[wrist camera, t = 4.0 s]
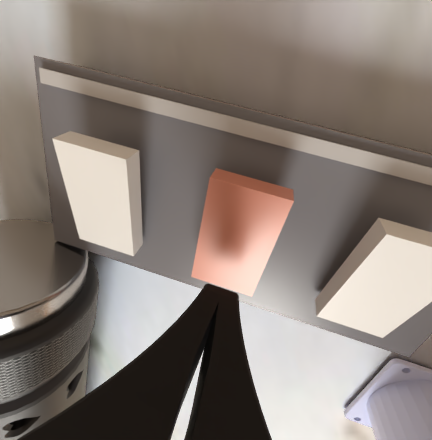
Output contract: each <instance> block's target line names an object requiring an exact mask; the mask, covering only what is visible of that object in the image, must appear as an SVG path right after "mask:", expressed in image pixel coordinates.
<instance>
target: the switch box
mask: <svg viewBox="0 0 432 440" xmlns="http://www.w3.org/2000/svg"><path fill="white" fill-rule="evenodd" d="M34 62H35V71H36V79H37V88H38V97H39V106H40V115H41V124H42V133H43V142H44V150H45V159H46V168H47V177H48V186H49V195H50V204H51V212H52V221H53V230H54V239H55V240H56V241H59V242H62V243H65V244H68V245H71V246H74V247H77V248H80V249H83V250H87V251H90V252H93V253H96V254H99V255H102V256H105V257H108V258H111V259H114V260H117V261H120V262H123V263H126V264H129V265H132V266H135V267H138V268H141V269H144V270H147V271H150V272H153V273H156V274H159V275H162V276H165V277H168V278H171V279H174V280H177V281H180V282H183V283H186V284H189V285H192V286H195V287H198V288H201V289H203V287H204V285H205V284H208V282H205V281H202V280H199V279H196V278H193V277H191V275H192V269H193V264H194V259H195V254H196V248H197V243H198V238H199V232H200V227H201V222H202V216H203V211H204V206H205V200H206V195H207V190H208V184H209V179H210V176H211V175H212V173H213V172H214V171H215V169H216V168H218V169H221V170H225V171H229V172H232V173H236V174H239V175H243V176H246V177H250V178H254V179H257V180H261V181H264V182H268V183H271V184H275V185H279V186H282V187H286V188H289V189H293V194H294V202H293V205H292V207H291V209H290V211H289V214H288V216H287V218H286V220H285V223H284V225H283V227H282V230H281V232H280V234H279V236H278V239H277V241H276V243H275V246H274V248H273V250H272V252H271V255H270V257H269V259H268V261H267V264H266V266H265V268H264V271H263V273H262V275H261V277H260V280H259V282H258V284H257V287H256V289H255V291H254V293H253V296H252V297H251V296H248V295H245V294H242V293H239V292H236V291H233V290H230V289H227V288H224V287H221V286H218V285H215V284H212V283H209V284H212V285H215V286H218V287H221V288H224V289H227V290H230V291H233V292H236V293H237V294H238V295H239V301H240V302H243V303H246V304H249V305H252V306H255V307H258V308H261V309H264V310H267V311H270V312H273V313H276V314H279V315H282V316H285V317H288V318H291V319H294V320H297V321H300V322H303V323H306V324H309V325H312V326H316V327H319V328H322V329H325V330H328V331H331V332H334V333H337V334H340V335H343V336H346V337H349V338H352V339H355V340H358V341H361V342H364V343H367V344H370V345H373V346H376V347H379V348H382V349H385V350H388V351H391V352H394V353H397V354H400V355H403V356H406V357H410V356H411V355H412V354H413V353H414V351H415V350H416V349H417V348H418V347H419V346H420V345H421V344H422V343H423V342H424V341H425V340H426V339H427V338H428V337H429V336H430V335H431V334H432V302H431V303H429V304H428V305H427V306H425V307H424V308H423V309H421V310H420V311H419V312H417V313H416V314H415V315H413V316H412V317H410V318H409V319H408V320H406V321H405V322H404V323H402V324H401V325H400V326H398V327H397V328H396V329H394V330H393V331H391V332H390V333H389V334H387V335H386V336H385V337H383V338H381V337H378V336H375V335H372V334H369V333H366V332H363V331H360V330H357V329H354V328H351V327H348V326H345V325H342V324H338V323H335V322H332V321H329V320H326V319H323V318H320V317H317V316H316V304H315V299H316V297H317V296H318V295H319V294H320V292H321V291H322V290H323V288H324V287H325V286H326V285H327V283H328V282H329V281H330V279H331V278H332V277H333V276H334V274H335V273H336V272H337V270H338V269H339V268H340V267H341V265H342V264H343V263H344V261H345V260H346V259H347V258H348V256H349V255H350V254H351V252H352V251H353V250H354V249H355V247H356V246H357V245H358V243H359V242H360V241H361V240H362V238H363V237H364V236H365V234H366V233H367V232H368V231H369V229H370V228H371V227H372V226H373V224H374V223H375V222H376V220H377V219H378V218H382V219H385V220H389V221H393V222H396V223H400V224H403V225H407V226H410V227H414V228H417V229H421V230H425V231H428V232H432V154H428V153H424V152H420V151H416V150H412V149H408V148H404V147H400V146H396V145H392V144H388V143H385V142H381V141H377V140H373V139H369V138H365V137H361V136H357V135H353V134H349V133H345V132H341V131H337V130H333V129H329V128H325V127H321V126H317V125H313V124H309V123H305V122H301V121H297V120H293V119H289V118H285V117H281V116H277V115H273V114H269V113H265V112H261V111H257V110H253V109H249V108H245V107H241V106H237V105H233V104H229V103H225V102H221V101H217V100H213V99H209V98H205V97H201V96H197V95H193V94H189V93H185V92H181V91H177V90H173V89H169V88H165V87H161V86H157V85H153V84H149V83H145V82H141V81H137V80H133V79H129V78H125V77H121V76H117V75H113V74H109V73H105V72H101V71H98V70H94V69H90V68H86V67H82V66H77V65H73V64H68V63H64V62H59V61H55V60H51V59H46V58H42V57H37V56H34ZM69 131H72V132H76V133H79V134H83V135H86V136H90V137H94V138H97V139H101V140H104V141H108V142H111V143H115V144H118V145H122V146H126V147H129V148H133V149H136V150H139V158H140V184H141V209H142V235H143V244H142V246H141V247H140V248H139V250H138V251H137V253H136V254H135V255H134V256H131V255H128V254H125V253H122V252H119V251H116V250H113V249H110V248H107V247H103V246H100V245H97V244H94V243H91V242H88V241H85V240H82V239H80V238H79V235H78V231H77V227H76V224H75V220H74V216H73V213H72V209H71V205H70V202H69V198H68V194H67V191H66V187H65V183H64V180H63V176H62V172H61V169H60V165H59V162H58V158H57V154H56V151H55V147H54V143H53V140H52V138H54V137H57V136H59V135H62V134H64V133H67V132H69Z"/></svg>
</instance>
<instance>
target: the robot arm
mask: <svg viewBox="0 0 432 440" xmlns="http://www.w3.org/2000/svg"><path fill="white" fill-rule="evenodd" d="M203 350H204V352H203ZM202 352H203V357H202V362H201V367H200V372H199V377H198V382H197V387H196V392H195V397H194V402H193V407H192V412H191V416H190V420H189V425H188V428H187V432H186V436H185V439H184V440H272V439H271V436H270V433H269V431H268V428H267V425H266V422H265V419H264V416H263V413H262V410H261V407H260V403H259V400H258V397H257V393H256V390H255V387H254V383H253V379H252V376H251V372H250V368H249V363H248V359H247V355H246V350H245V345H244V340H243V334H242V328H241V321H240V312H239V295H238V294H237V293H236V292H233V291H230V290H227V289H224V288H221V287H218V286H215V285H212V284H209V283H208V284H205V285H204V287H203V289H202V290H201V292H200V293H199V295H198V296H197V297H196V299H195V300H194V301H193V302H192V304H191V305H190V306H189V307H188V308H187V310H186V311H185V312H184V313H183V314H182V315H181V316H180V317H179V318H178V320H177V321H176V322H175V323H174V324H173V325H172V326H171V327H170V328H169V329H168V330H167V331H166V332H165V333H163V334H162V335H161V336H160V337H159V338H158V339H157V340H156V341H155V342H154V343H153V344H152V345H151V346H149V347H148V348H147V349H146V350H145V351H144V352H142V353H141V354H140V355H139V356H138V357H137V358H135V359H134V360H133V361H132V362H130V363H129V364H128V365H127V366H125V367H124V368H123V369H121V370H120V371H119V372H118V373H116V374H115V375H114V376H112V377H111V378H110V379H108V380H107V381H106V382H104V383H103V384H102V385H100V386H99V387H97V388H96V389H94V390H93V391H91V392H90V393H88V394H87V395H86V396H84V397H83V398H81V399H80V400H78V401H77V402H75V403H74V404H73V405H71V406H70V407H68V408H67V409H65V410H64V411H62V412H60V413H59V414H57V415H56V416H54V417H53V418H51V419H49V420H48V421H46V422H44V423H43V424H41V425H40V426H38V427H36V428H35V429H33V430H32V431H30V432H28V433H27V434H25V435H23V436H22V437H20V438H19V439H17V440H170V439H171V436H172V433H173V430H174V426H175V423H176V420H177V417H178V414H179V412H180V409H181V406H182V403H183V401H184V398H185V396H186V393H187V391H188V388H189V386H190V383H191V381H192V378H193V375H194V373H195V370H196V368H197V365H198V363H199V360H200V358H201V355H202ZM344 415H345V417H346V418H347V419H349V420H351V421H354V422H357V423H360V424H362V425H365V426H368V427H371V428H372V429H373V432H374V435H375V438H376V440H432V369H429V368H426V367H423V366H420V365H417V364H414V363H411V362H408V361H405V360H402V359H398V358H394V359H391V360H390V361H389V362H388V363H387V364H386V365H385V366H384V367H383V368H382V370H381V371H380V372H379V373H378V374H377V375H376V376H375V377H374V378H373V379H372V380H371V382H370V383H369V384H368V385H367V386H366V387H365V388H364V389H363V390H362V391H361V392H360V394H359V395H358V396H357V397H356V398H355V399H354V400H353V401H352V402H351V403H350V404H349V405H348V407H347V408H346V409H345V410H344Z"/></svg>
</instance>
